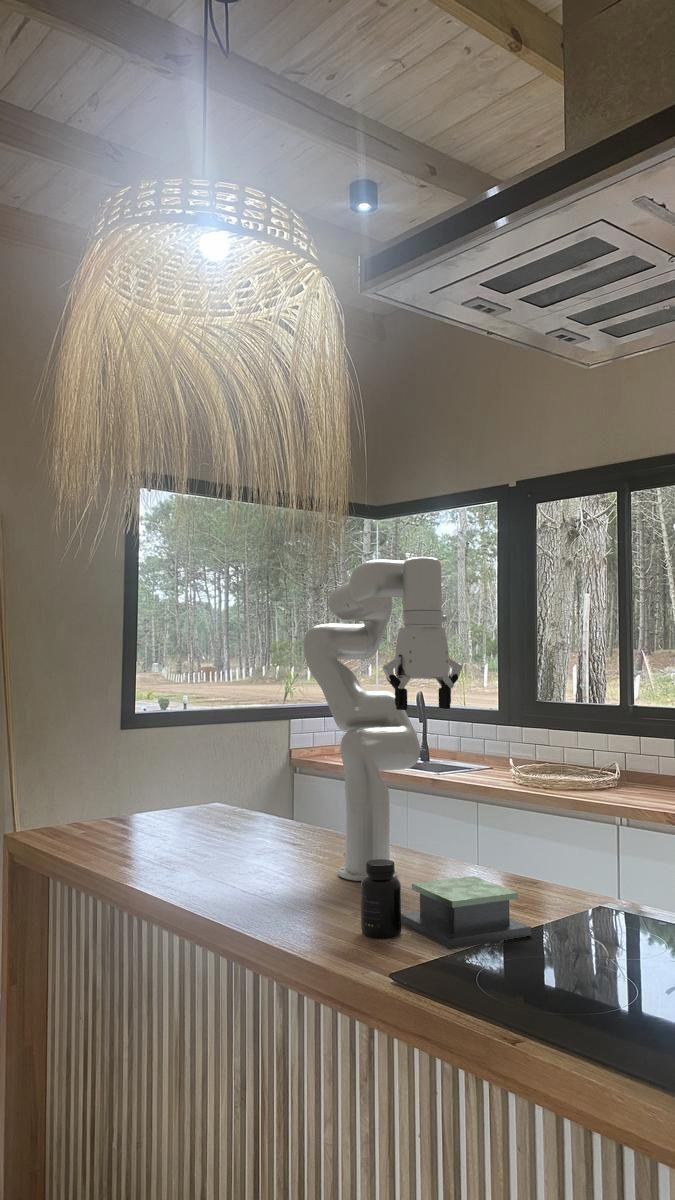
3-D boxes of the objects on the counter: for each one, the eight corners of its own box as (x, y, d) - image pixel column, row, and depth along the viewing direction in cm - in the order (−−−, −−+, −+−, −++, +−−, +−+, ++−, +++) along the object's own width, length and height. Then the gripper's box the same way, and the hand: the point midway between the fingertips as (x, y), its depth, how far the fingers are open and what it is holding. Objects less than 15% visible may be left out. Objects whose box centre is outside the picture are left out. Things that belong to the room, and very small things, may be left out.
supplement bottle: (377, 925, 157) (376, 855, 158) (409, 933, 153) (409, 861, 154) (352, 935, 152) (352, 862, 153) (385, 943, 148) (385, 868, 148)
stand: (400, 923, 158) (400, 882, 159) (476, 912, 165) (476, 873, 166) (449, 949, 144) (449, 904, 145) (531, 936, 151) (530, 893, 151)
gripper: (449, 622, 183) (450, 707, 182) (374, 620, 175) (374, 709, 174) (470, 620, 176) (471, 708, 175) (393, 619, 169) (394, 711, 167)
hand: (423, 709), depth 175 cm, fingers open, 9 cm apart
